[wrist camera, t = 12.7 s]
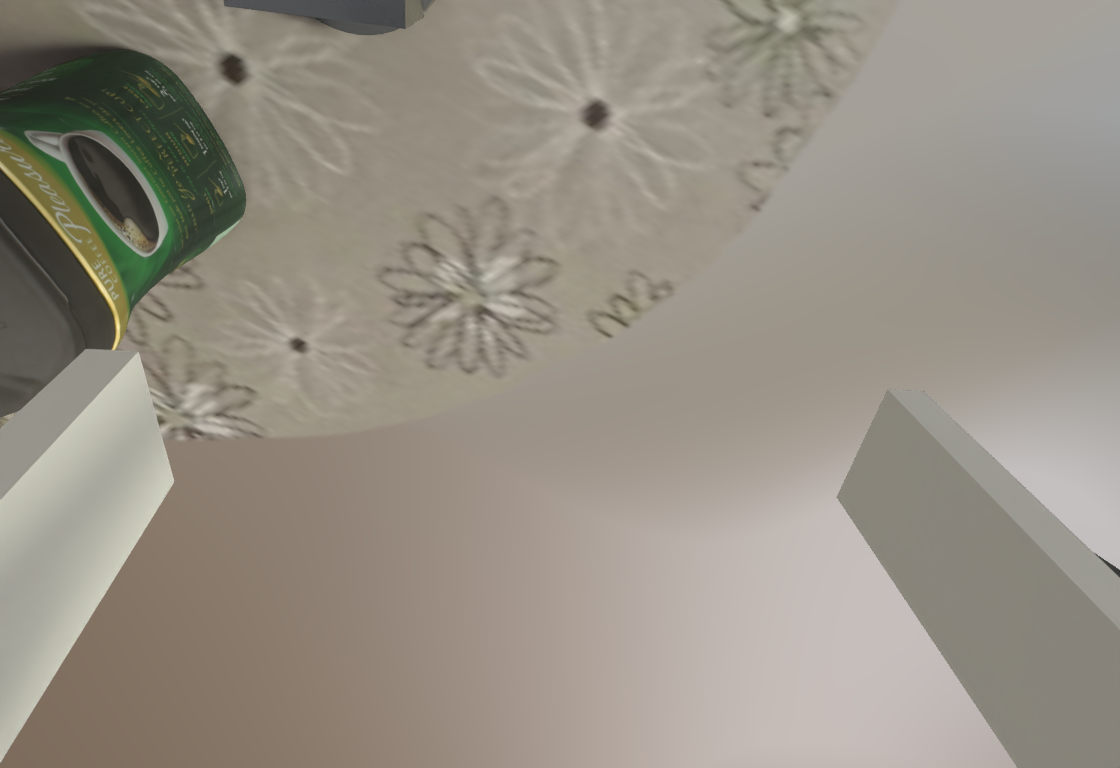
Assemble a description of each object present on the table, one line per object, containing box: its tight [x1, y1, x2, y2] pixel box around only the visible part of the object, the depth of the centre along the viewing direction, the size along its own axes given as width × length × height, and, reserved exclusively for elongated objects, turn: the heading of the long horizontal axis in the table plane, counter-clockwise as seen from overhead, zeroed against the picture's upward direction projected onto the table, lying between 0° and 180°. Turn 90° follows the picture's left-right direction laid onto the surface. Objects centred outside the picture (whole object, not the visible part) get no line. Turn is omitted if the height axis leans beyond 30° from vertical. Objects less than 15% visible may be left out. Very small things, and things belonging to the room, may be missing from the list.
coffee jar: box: [0, 50, 246, 417], centre depth 25 cm, size 10×8×19 cm
